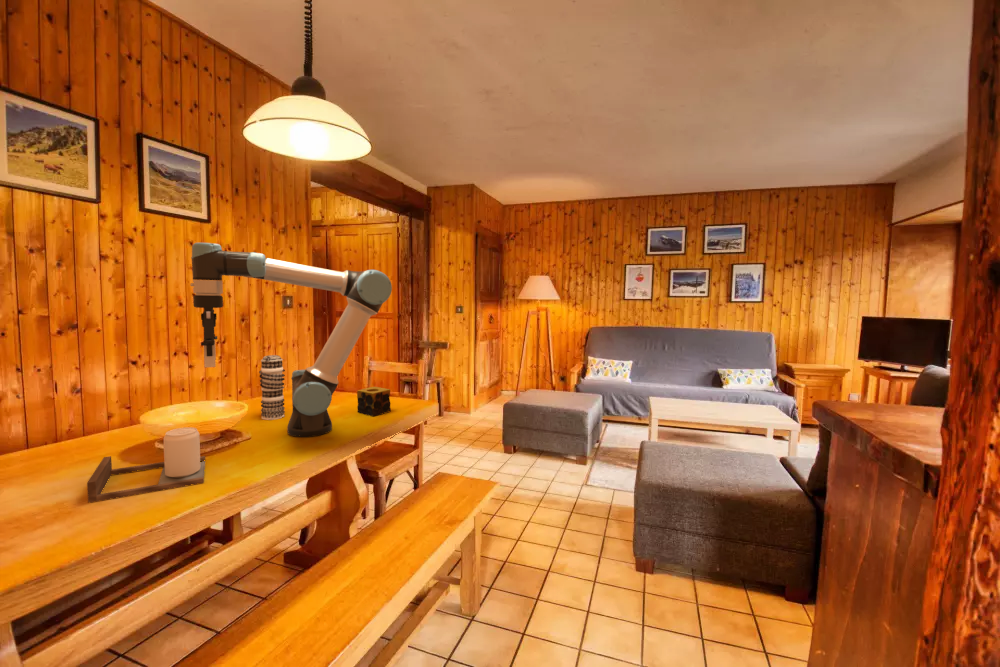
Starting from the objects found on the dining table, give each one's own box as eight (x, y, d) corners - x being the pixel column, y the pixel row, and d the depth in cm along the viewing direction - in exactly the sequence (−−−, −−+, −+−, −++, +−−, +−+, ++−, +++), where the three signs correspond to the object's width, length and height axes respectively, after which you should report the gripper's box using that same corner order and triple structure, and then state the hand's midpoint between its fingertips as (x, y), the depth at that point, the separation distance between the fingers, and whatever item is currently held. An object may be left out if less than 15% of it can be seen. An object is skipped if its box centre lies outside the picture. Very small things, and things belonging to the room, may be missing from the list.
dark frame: (205, 459, 133) (204, 443, 133) (203, 482, 118) (202, 464, 117) (105, 474, 121) (104, 457, 120) (88, 502, 105) (87, 482, 105)
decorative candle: (268, 413, 183) (267, 354, 181) (290, 414, 183) (289, 354, 180) (255, 419, 174) (253, 357, 172) (278, 420, 174) (276, 358, 171)
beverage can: (170, 468, 125) (169, 428, 124) (204, 465, 128) (202, 425, 127) (160, 480, 118) (158, 437, 116) (196, 476, 121) (194, 434, 119)
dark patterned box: (391, 411, 191) (391, 389, 190) (373, 417, 183) (373, 393, 182) (374, 407, 197) (375, 386, 196) (356, 412, 188) (356, 390, 187)
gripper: (195, 293, 142) (197, 358, 144) (190, 295, 121) (193, 371, 123) (222, 293, 146) (224, 356, 148) (223, 295, 125) (225, 369, 127)
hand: (210, 363), depth 136 cm, fingers open, 13 cm apart
